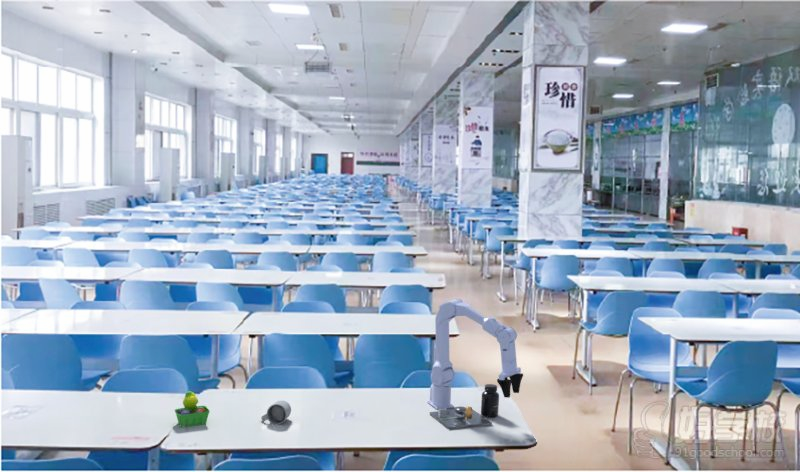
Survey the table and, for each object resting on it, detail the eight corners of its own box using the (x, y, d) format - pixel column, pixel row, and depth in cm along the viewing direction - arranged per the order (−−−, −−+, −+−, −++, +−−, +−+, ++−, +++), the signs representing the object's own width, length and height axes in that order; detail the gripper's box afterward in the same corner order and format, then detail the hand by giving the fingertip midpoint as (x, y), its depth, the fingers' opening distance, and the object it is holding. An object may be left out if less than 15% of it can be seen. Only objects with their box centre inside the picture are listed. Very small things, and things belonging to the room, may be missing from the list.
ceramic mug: (292, 418, 295) (292, 398, 294) (286, 425, 287) (286, 405, 286) (265, 416, 296) (265, 397, 295) (258, 423, 288) (258, 403, 287)
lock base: (429, 414, 304) (430, 404, 304) (471, 410, 311) (471, 401, 311) (448, 429, 288) (449, 419, 287) (492, 425, 294) (492, 415, 294)
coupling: (452, 410, 300) (452, 400, 300) (463, 409, 302) (464, 399, 302) (464, 419, 291) (464, 409, 290) (475, 418, 292) (476, 408, 292)
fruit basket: (178, 428, 279) (178, 398, 278) (173, 421, 287) (173, 391, 286) (210, 424, 285) (210, 394, 284) (204, 417, 293) (204, 388, 292)
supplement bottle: (497, 419, 302) (498, 388, 301) (479, 417, 303) (481, 387, 302) (498, 413, 309) (500, 384, 307) (481, 411, 310) (482, 382, 309)
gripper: (509, 363, 290) (512, 399, 290) (526, 356, 302) (529, 391, 302) (492, 363, 294) (495, 398, 294) (510, 355, 306) (513, 390, 306)
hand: (511, 394), depth 298 cm, fingers open, 7 cm apart
